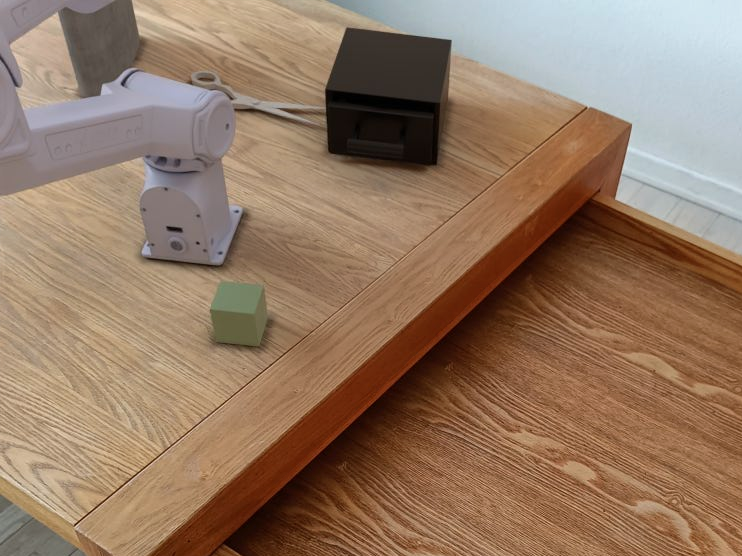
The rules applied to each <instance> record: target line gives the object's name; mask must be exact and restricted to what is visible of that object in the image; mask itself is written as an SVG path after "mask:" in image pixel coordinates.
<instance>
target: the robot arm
mask: <svg viewBox="0 0 742 556" xmlns="http://www.w3.org/2000/svg"><path fill="white" fill-rule="evenodd" d="M113 1H115V0H0V197H6V196H11V195H15V194H17V193H22V192H24V191H28V190H32V189H34V188H38V187H42V186H45V185H49V184H52V183H56V182H59V181H63V180H66V179H71V178H74V177H77V176H81V175H84V174H88V173H92V172H94V171H98V170H102V169H106V168H108V167H112V166H115V165H119V164H123V163H126V162H129V161H133V160H137V159H139V158H140V159H142V162H143V167H144V174H145V178H144V179H145V180H144V186H143V188H142V191H141V193H140V195H139V201H138V205H139V212H140V216H141V219H142V220H141V221H142V223H143V227H144V232H145V235H146V241H145V243H144V245H143V246H142V247H143V248H142V250H141V256H142V257H144V258H148V259H156V260H157V259H159V260H166V261H173V262H175V261H176V262H184V263H191V264H202V265H210V266H211V265H212V266H221V265H223V264H224V262H225V259H226V256H227V254H228V251H229V248H230V246H231V244H232V241H233V238H234V236H235V233H236V231H237V228H238V226H239V224H240V220H241V219H242V215H243V213H244V208H243V207H242V206H239V205H233V204H229V203H230V202H229V197H228V192H227V191H228V190H227V184H226V179H225V172H224V166H223V160H222V159H223V158H224V157H225V156H226V155H227V154H228V152H229V150H230V149H231V147H232V145H233V142H234V139H235V135H236V128H237V119H236V112H235V108H233V106H232V103H231V100H232V99H230V96H229V95H228V94H227V93H225V92H223V91H219V90H217V89H210V90H207V89H204V88H200V87H196V86H194V85H193V84H189V83H185V82H182V81H178V80H174V79H171V78H167V77H164V76H160V75H157V74H153V73H151V72H147V71H146V70H144V69H140V68H138V67H130V68H129V69H127V70H126V71H124V72H123V73H122V74H121V75H120V76H119V78H118V79H116V80H115V81H113V82H111V83H105V84H103V85H102V90H101V95H100V96H95V97H89V98H85V97H82V98H78V99H72V100H66V101H61V102H55V103H51V104H45V105H39V106H33V107H26V108H23V105H22V103H21V100H20V97H19V94H18V91H17V88H18V89H21V88H22V86H23V81H24V80H23V77H22V73H21V69H20V67H19V64H18V61H17V59H16V57H15V55H14V53H13V51H12V48H11V45H12V43H14V42H16V41H17V40H19V39H20V38H22V37H23V36H24V35H26V34H28V33H29V32H30V31H32V30H33V29H35V28H36V27H38V26H40V25H41V24H43V23H44V22H45V21H48V19H50V18H51V17H53V16H54V15H56V14H58V12H59V11H60V10H61V9H63V8H64V7H68V8H69V9H71V10H73V11H76V12H79V13H93V12H95V11H97V10H99V9H101V8H103V7H104V6H106V5H108V4H110V3H112V2H113Z"/></svg>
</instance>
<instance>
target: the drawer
mask: <svg viewBox="0 0 742 556" xmlns="http://www.w3.org/2000/svg"><path fill="white" fill-rule="evenodd" d="M328 112H329V132H330V152H331V153H330V154H331V155H335V156H344V157H353V158H361V159H370V160H378V161H387V162H395V163H404V164H413V165H422V166H429V167H430V166H431V165H432V164H431V160H432V142H433V122H434V113H433V109H430V108H422V107H413V106H405V105H397V104H388V103H380V102H371V101H363V100H354V99H346V98H339V102H338V101H330V102H329V105H328Z"/></svg>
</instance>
